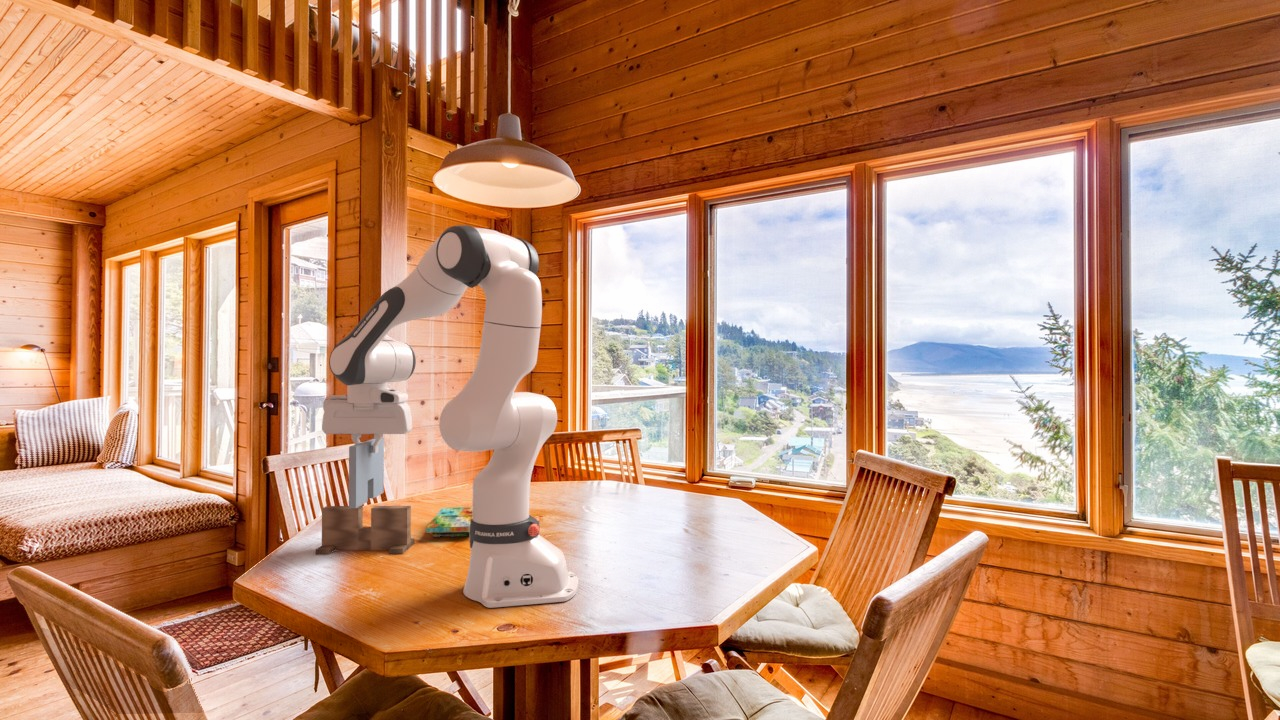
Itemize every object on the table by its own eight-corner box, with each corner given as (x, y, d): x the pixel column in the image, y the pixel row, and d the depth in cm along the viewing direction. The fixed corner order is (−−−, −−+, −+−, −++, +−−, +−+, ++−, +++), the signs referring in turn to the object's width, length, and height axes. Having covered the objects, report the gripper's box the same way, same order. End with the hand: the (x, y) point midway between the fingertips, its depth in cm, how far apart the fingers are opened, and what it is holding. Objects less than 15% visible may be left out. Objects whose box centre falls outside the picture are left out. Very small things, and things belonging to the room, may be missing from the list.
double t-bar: (414, 543, 147) (414, 503, 147) (402, 553, 139) (403, 511, 139) (332, 543, 147) (332, 503, 147) (315, 554, 139) (316, 511, 139)
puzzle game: (485, 503, 170) (473, 523, 150) (485, 520, 170) (473, 541, 150) (443, 504, 169) (425, 524, 149) (442, 521, 169) (425, 542, 149)
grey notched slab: (355, 508, 135) (356, 446, 135) (348, 508, 135) (349, 446, 135) (383, 492, 151) (383, 437, 151) (377, 492, 151) (377, 437, 151)
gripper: (316, 395, 140) (316, 454, 139) (405, 396, 140) (405, 454, 140) (329, 394, 146) (329, 450, 146) (414, 394, 147) (414, 450, 147)
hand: (367, 452), depth 143 cm, fingers closed on grey notched slab, 2 cm apart
